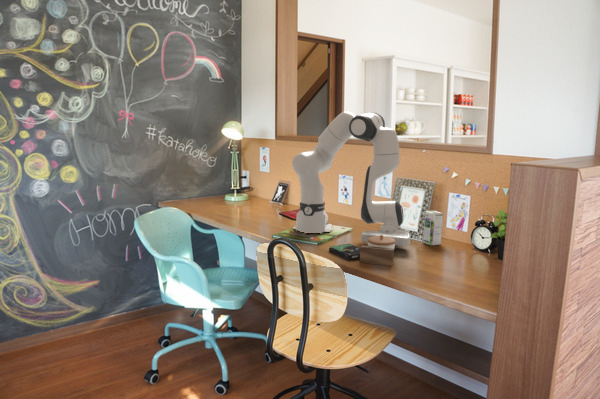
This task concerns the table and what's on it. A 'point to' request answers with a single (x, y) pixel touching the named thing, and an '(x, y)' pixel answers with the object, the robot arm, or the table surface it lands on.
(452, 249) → the table surface
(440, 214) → the syrup box
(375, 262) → the walnut board
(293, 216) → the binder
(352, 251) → the disk drive
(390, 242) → the lidded jar
